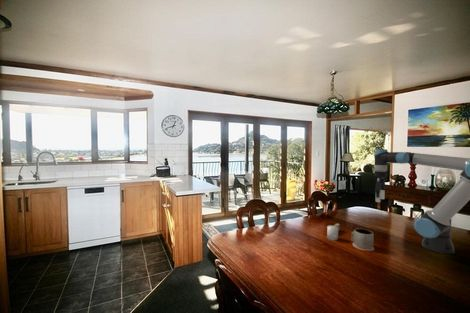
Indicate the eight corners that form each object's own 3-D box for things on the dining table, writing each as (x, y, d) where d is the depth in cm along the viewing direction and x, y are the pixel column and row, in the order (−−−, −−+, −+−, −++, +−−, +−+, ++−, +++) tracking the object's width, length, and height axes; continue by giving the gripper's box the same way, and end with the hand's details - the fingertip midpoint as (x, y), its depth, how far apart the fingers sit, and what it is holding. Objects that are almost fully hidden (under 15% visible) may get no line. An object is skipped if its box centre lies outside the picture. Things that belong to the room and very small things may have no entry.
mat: (376, 246, 137) (376, 245, 137) (371, 252, 129) (371, 252, 129) (355, 241, 146) (355, 240, 146) (350, 246, 137) (350, 245, 137)
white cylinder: (339, 238, 150) (339, 227, 150) (335, 241, 145) (335, 229, 145) (329, 235, 155) (329, 224, 155) (325, 238, 150) (325, 227, 150)
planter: (372, 251, 130) (373, 235, 129) (352, 246, 136) (352, 231, 136) (373, 245, 138) (374, 230, 138) (354, 240, 145) (355, 227, 144)
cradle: (360, 235, 155) (360, 228, 155) (354, 241, 146) (354, 233, 145) (336, 229, 167) (336, 223, 167) (329, 234, 157) (329, 227, 157)
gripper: (378, 169, 162) (378, 197, 163) (369, 171, 145) (369, 202, 145) (390, 170, 157) (389, 198, 157) (383, 172, 139) (382, 204, 140)
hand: (380, 200), depth 151 cm, fingers open, 13 cm apart
